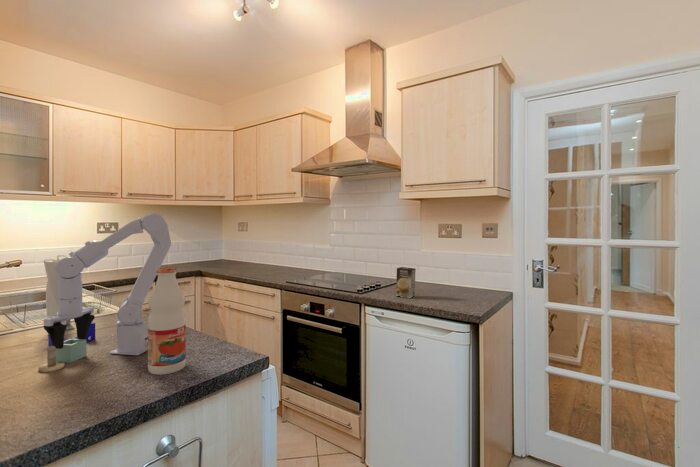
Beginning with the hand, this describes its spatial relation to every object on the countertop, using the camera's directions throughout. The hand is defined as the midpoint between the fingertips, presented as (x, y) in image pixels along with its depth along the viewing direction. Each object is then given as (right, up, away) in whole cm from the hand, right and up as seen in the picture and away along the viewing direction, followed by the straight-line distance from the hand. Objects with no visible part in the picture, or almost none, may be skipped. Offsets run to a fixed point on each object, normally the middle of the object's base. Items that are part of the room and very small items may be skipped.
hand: (70, 343), depth 107 cm
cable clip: (-9, -4, +13) cm, 16 cm away
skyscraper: (-26, -3, +28) cm, 38 cm away
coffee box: (+113, -3, +95) cm, 148 cm away
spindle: (0, -5, -7) cm, 8 cm away
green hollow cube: (0, -4, 0) cm, 4 cm away
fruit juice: (+32, -5, -6) cm, 32 cm away
